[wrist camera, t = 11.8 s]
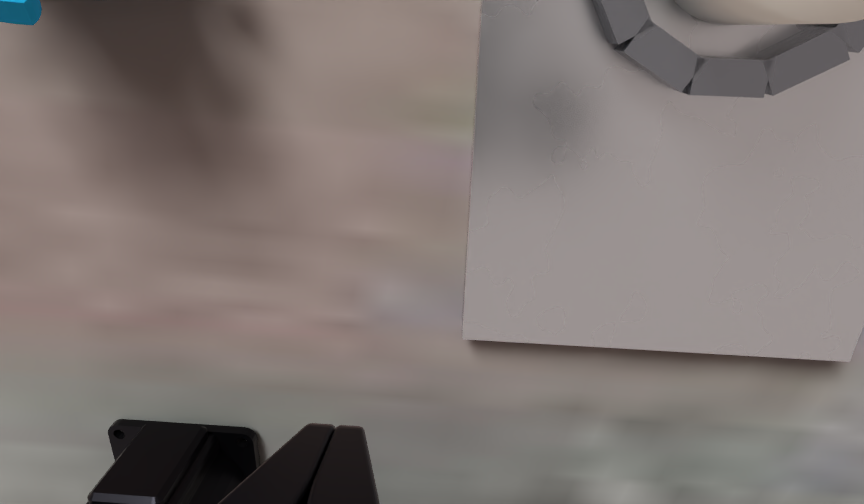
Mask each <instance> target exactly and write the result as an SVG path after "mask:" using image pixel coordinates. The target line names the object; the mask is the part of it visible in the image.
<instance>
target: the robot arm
mask: <svg viewBox="0 0 864 504" xmlns="http://www.w3.org/2000/svg"><path fill="white" fill-rule="evenodd" d="M108 435H109V439H110V443H111V447H112V451H113V455H114V459H115V462H114V463H113V465H112V466H111V467H110V468H109V470H108V471H107V472H106V473H105V475H104V476H103V477H102V478H101V480H100V481H99V482H98V483H97V485H96V486H95V487H94V488H93V490H92V491H91V492H90V493H89V495H88V502H87V503H86V504H380V503H379V499H378V494H377V489H376V484H375V479H374V474H373V470H372V465H371V460H370V455H369V450H368V445H367V441H366V436H365V431H364V429H363V428H362V427H360V426H346V425H339V426H338V427H336V428H335V426H333V425H331V424H317V423H311V424H308V425H306V426H305V427H304V428H302V429H301V430H300V431H299V432H298V433H297V434H296V435H295V436H293V437H292V438H291V439H290V440H289V441H288V442H287V443H286V444H284V445H283V446H282V447H281V448H280V449H279V450H278V451H277V452H275V453H274V454H273V455H272V456H271V457H270V458H269V459H268V460H266V461H265V462H264V463H263V464H262V465H261V466H260V460H259V452H258V443H257V436H256V434H255V433H254V431H253V430H251V429H249V428H245V427H232V426H217V425H202V424H187V423H172V422H157V421H142V420H127V419H119V420H117V421H115V422H114V423H113V424H112V426H111V427H110V428H109V430H108ZM241 438H243V439H245V440H247V441H244V440H242V439H241Z"/></svg>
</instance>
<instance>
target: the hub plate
mask: <svg viewBox="0 0 864 504" xmlns="http://www.w3.org/2000/svg"><path fill="white" fill-rule="evenodd" d="M863 326H864V19H863V20H859V21H854V22H847V23H838V24H769V25H720V24H714V23H709V22H706V21H703V20H700V19H698V18H696V17H694V16H692V15H690V14H689V13H687V12H686V11H685V10H683V9H682V8H681V7H680V6H679V5H678V4H677V3H676V2H675V1H674V0H481V15H480V32H479V49H478V66H477V83H476V100H475V117H474V134H473V152H472V169H471V186H470V203H469V220H468V237H467V254H466V271H465V288H464V305H463V323H462V339H467V340H484V341H501V342H518V343H535V344H552V345H570V346H587V347H604V348H621V349H638V350H655V351H672V352H690V353H707V354H724V355H741V356H758V357H775V358H793V359H810V360H827V361H844V362H850V360H851V357H852V354H853V352H854V349H855V347H856V344H857V342H858V339H859V336H860V334H861V331H862V329H863Z"/></svg>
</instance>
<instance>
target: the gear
mask: <svg viewBox="0 0 864 504" xmlns="http://www.w3.org/2000/svg"><path fill="white" fill-rule="evenodd" d="M41 11H42V8H41V3H40V0H0V22H6V23H13V24H24V25H34V24H35V23H36V22H37V21H38V20H39V18H40V16H41Z"/></svg>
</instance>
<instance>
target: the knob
mask: <svg viewBox="0 0 864 504" xmlns="http://www.w3.org/2000/svg"><path fill="white" fill-rule="evenodd" d="M674 1H675V2H676V3H677V4H678V5H679V6H680V7H681V8H682V9H683V10H685V11H686V12H687V13H689V14H690V15H692V16H694V17H696V18H698V19H700V20H703V21H706V22H709V23H714V24H720V25H769V24H838V23H847V22H854V21H859V20H863V19H864V0H674Z"/></svg>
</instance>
